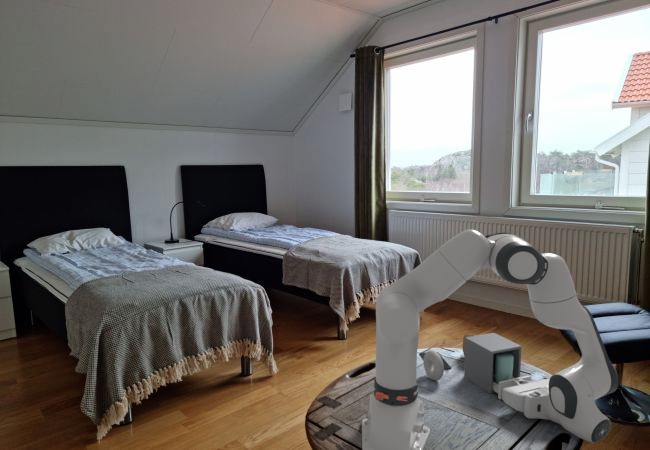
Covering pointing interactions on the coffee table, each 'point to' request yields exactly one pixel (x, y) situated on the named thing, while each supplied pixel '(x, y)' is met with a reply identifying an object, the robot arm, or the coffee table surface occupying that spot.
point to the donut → (433, 365)
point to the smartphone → (446, 365)
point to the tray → (505, 384)
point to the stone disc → (464, 340)
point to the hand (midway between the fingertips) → (515, 381)
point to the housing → (488, 358)
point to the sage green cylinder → (503, 367)
